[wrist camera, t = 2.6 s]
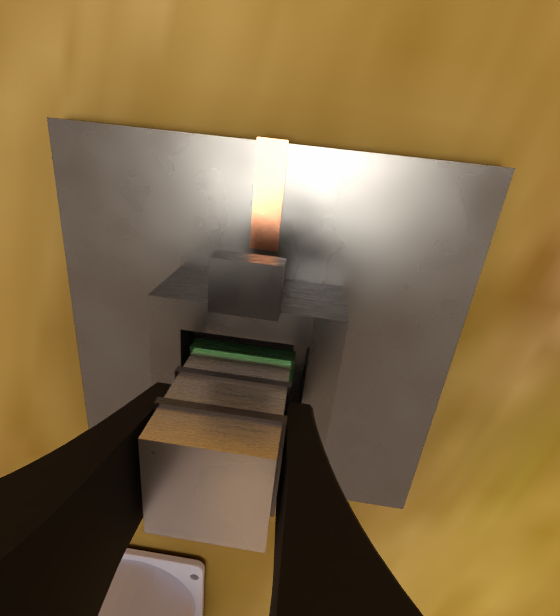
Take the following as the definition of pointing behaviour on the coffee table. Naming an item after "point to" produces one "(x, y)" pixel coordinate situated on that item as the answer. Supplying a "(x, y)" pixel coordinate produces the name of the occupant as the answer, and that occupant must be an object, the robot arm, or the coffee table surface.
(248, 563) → the coffee table surface
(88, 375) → the metal plate with socket
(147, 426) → the column
